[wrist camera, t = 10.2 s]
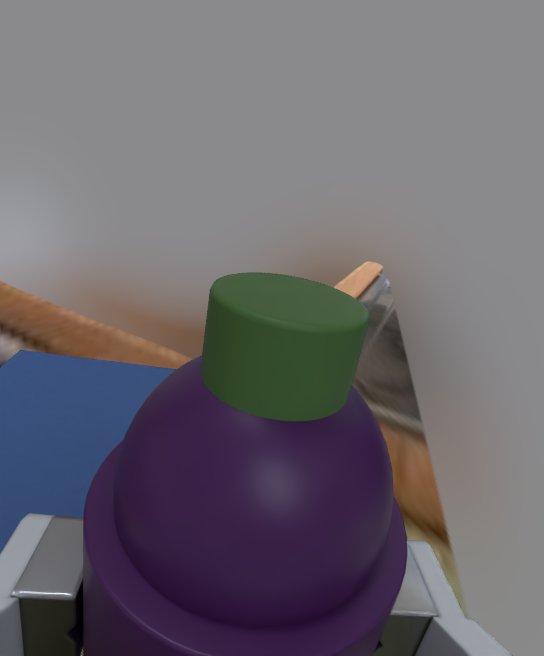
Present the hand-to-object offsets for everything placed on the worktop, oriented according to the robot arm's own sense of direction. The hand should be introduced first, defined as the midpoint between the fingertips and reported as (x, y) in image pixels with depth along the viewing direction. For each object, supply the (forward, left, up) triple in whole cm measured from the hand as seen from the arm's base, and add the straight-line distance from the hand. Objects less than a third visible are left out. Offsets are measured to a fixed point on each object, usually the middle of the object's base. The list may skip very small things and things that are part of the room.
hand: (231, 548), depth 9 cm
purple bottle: (0, +1, -7) cm, 7 cm away
